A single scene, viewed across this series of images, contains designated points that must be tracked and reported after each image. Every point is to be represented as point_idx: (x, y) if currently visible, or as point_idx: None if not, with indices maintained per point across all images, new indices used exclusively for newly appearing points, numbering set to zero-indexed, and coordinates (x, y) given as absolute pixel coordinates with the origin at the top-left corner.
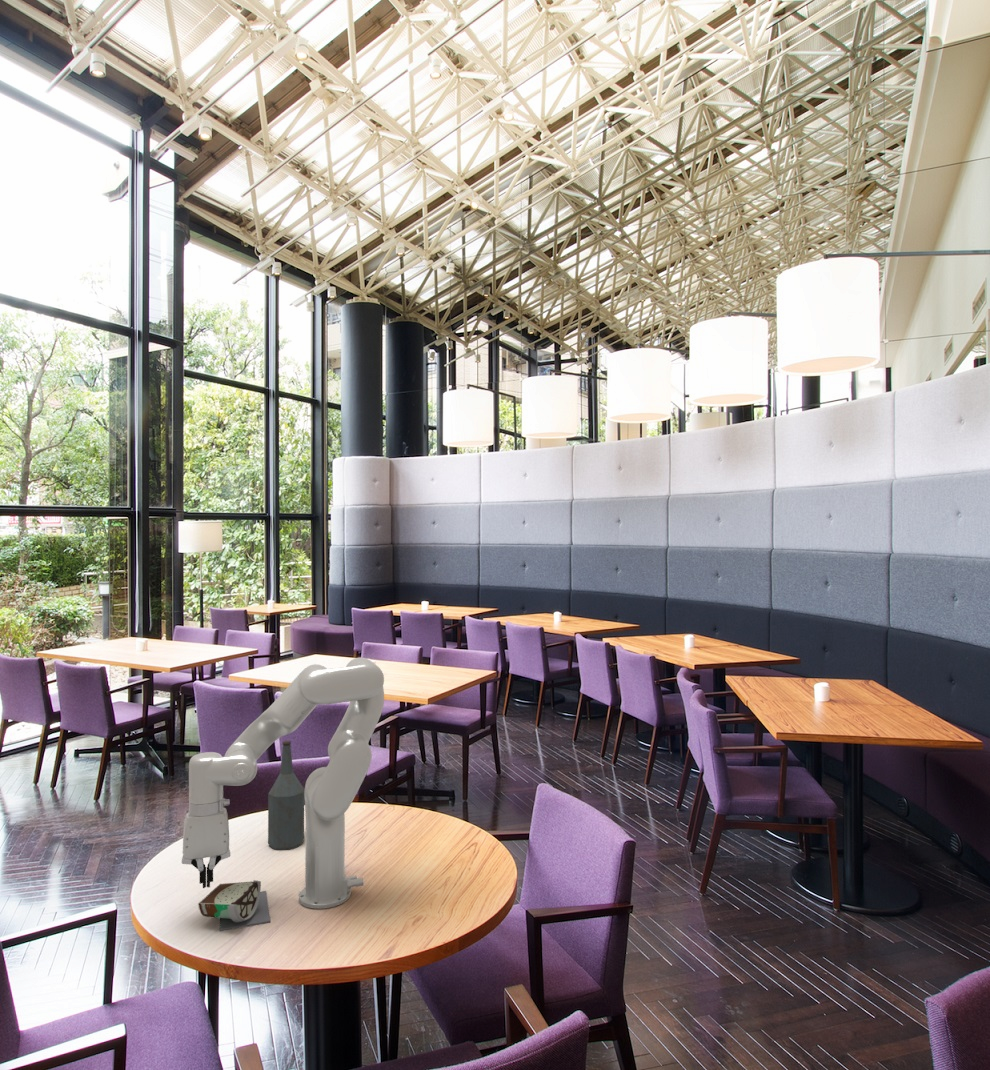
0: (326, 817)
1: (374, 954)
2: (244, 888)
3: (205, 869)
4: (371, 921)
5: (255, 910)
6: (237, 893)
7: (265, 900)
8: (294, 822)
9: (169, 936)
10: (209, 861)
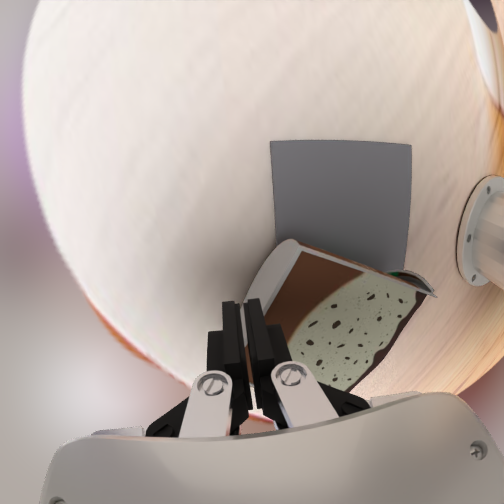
0: None
1: (449, 392)
2: (384, 328)
3: (248, 396)
4: (487, 326)
5: (375, 266)
6: (356, 355)
7: (405, 211)
8: None
9: (153, 340)
10: (277, 401)
